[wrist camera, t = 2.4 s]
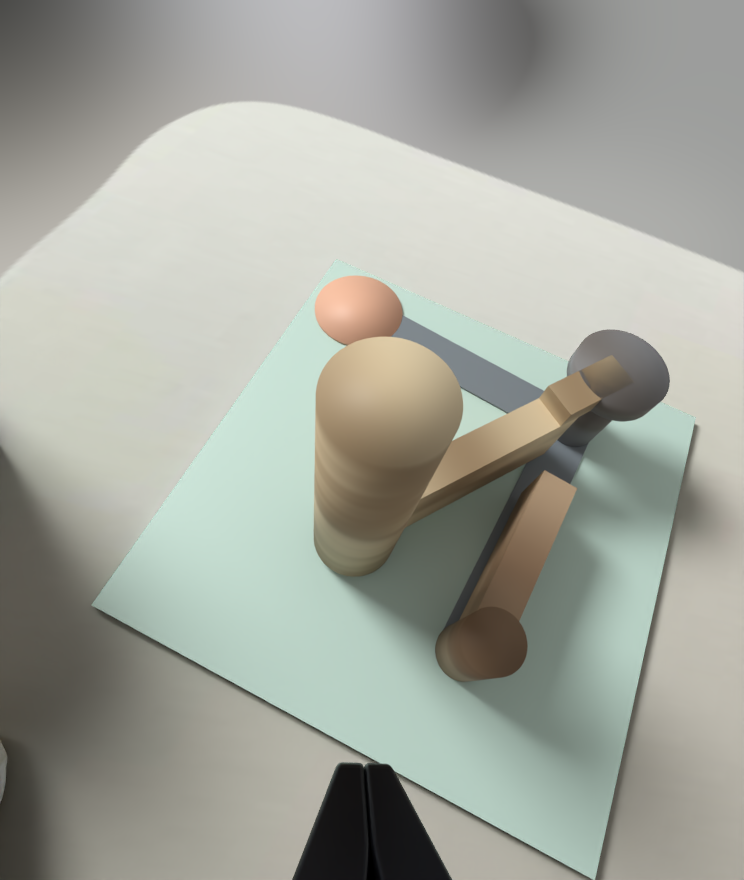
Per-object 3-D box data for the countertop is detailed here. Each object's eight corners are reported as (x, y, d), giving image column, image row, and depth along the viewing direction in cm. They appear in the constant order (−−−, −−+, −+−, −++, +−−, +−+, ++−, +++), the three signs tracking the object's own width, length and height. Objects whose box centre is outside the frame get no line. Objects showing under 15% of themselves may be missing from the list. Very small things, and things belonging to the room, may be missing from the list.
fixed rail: (555, 396, 22) (595, 346, 19) (599, 419, 22) (647, 373, 19) (422, 660, 17) (447, 651, 14) (477, 694, 17) (515, 693, 14)
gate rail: (578, 377, 23) (739, 181, 14) (627, 438, 22) (834, 266, 13) (296, 514, 19) (285, 360, 10) (340, 597, 18) (366, 501, 9)
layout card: (589, 877, 16) (596, 881, 15) (94, 606, 17) (89, 604, 17) (691, 420, 23) (697, 416, 23) (336, 263, 25) (336, 257, 24)
